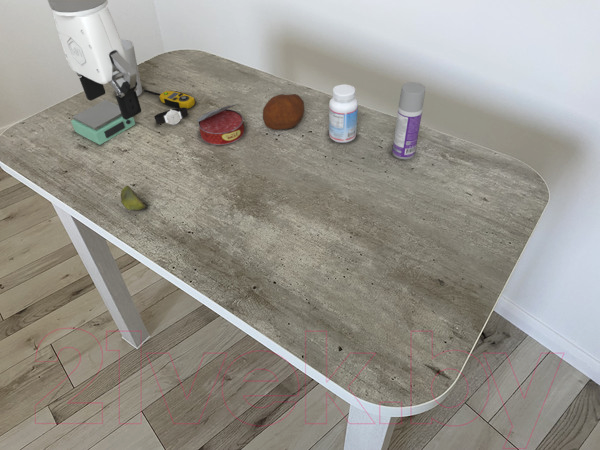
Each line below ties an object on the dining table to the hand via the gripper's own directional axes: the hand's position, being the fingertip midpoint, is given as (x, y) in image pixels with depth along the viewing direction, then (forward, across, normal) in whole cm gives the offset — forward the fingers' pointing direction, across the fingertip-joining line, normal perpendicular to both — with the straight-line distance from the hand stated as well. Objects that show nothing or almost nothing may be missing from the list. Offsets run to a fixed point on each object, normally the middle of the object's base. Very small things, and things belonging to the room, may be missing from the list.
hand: (114, 106), depth 78 cm
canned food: (+21, -5, +25) cm, 33 cm away
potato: (+21, +4, +36) cm, 42 cm away
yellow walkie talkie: (+21, -26, +27) cm, 43 cm away
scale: (+20, -28, +10) cm, 36 cm away
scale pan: (+17, -28, +10) cm, 34 cm away
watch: (+21, -18, +22) cm, 35 cm away
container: (+21, +31, +43) cm, 57 cm away
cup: (+20, -37, +24) cm, 49 cm away
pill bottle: (+21, +17, +40) cm, 49 cm away
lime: (+21, 0, -2) cm, 21 cm away
